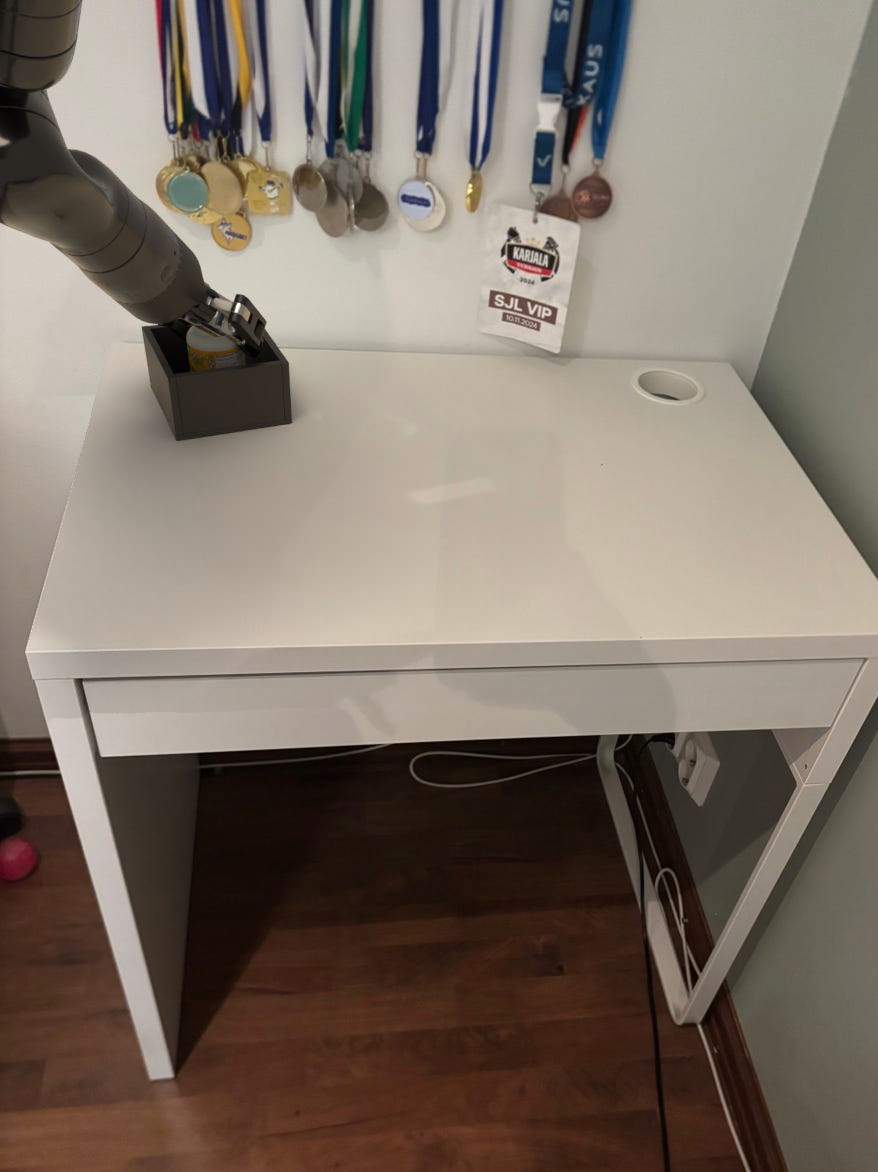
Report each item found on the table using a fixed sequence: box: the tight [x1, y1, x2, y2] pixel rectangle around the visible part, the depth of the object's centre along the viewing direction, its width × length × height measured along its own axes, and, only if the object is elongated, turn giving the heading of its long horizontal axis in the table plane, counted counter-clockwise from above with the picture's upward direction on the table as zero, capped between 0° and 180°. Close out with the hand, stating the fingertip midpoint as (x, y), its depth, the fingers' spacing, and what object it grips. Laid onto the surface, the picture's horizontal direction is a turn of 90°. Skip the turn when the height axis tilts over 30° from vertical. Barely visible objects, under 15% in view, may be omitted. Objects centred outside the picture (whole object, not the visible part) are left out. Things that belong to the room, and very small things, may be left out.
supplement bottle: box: [186, 312, 246, 372], centre depth 93 cm, size 5×5×10 cm
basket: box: [141, 324, 293, 441], centre depth 95 cm, size 11×11×6 cm
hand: (223, 339), depth 94 cm, fingers open, 6 cm apart
